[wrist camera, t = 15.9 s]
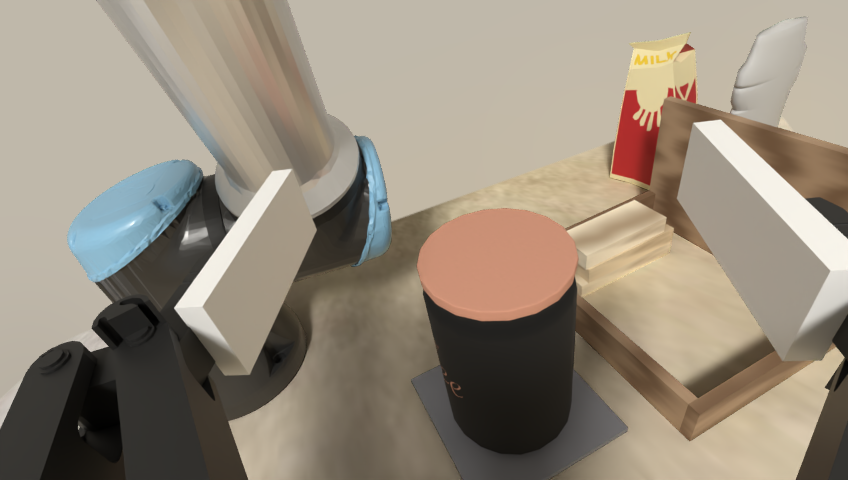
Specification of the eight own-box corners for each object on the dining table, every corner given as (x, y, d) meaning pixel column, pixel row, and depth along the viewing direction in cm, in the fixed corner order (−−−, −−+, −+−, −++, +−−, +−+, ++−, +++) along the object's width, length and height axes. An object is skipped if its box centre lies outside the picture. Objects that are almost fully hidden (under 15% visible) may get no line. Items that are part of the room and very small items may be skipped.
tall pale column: (742, 180, 61) (795, 5, 48) (773, 191, 58) (839, 8, 45) (688, 209, 58) (729, 32, 45) (718, 223, 55) (772, 37, 42)
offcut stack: (552, 274, 53) (553, 235, 50) (636, 234, 56) (642, 194, 53) (581, 299, 49) (583, 259, 46) (669, 254, 52) (677, 213, 49)
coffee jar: (464, 349, 46) (438, 206, 35) (572, 362, 42) (580, 208, 31) (438, 448, 38) (394, 304, 27) (568, 474, 34) (577, 320, 24)
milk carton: (693, 167, 65) (725, 22, 53) (659, 194, 62) (685, 45, 50) (635, 151, 72) (653, 19, 60) (601, 175, 68) (612, 39, 56)
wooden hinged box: (518, 275, 54) (511, 159, 44) (651, 213, 59) (670, 96, 49) (689, 441, 35) (741, 304, 26) (861, 330, 40) (958, 180, 31)
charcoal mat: (412, 383, 44) (411, 379, 44) (528, 324, 48) (528, 320, 47) (483, 519, 34) (482, 516, 33) (627, 431, 37) (628, 427, 36)
